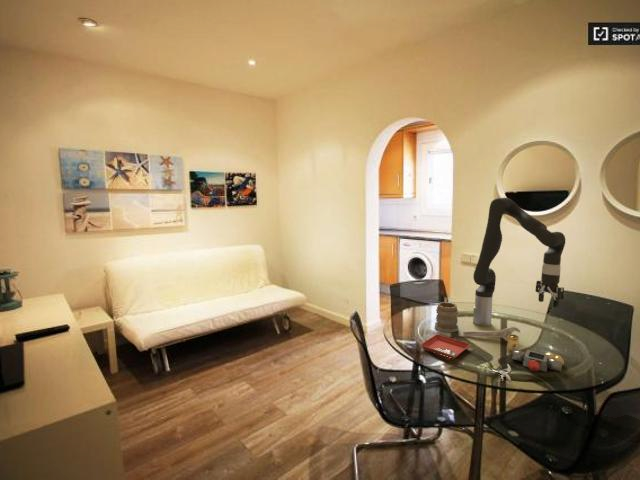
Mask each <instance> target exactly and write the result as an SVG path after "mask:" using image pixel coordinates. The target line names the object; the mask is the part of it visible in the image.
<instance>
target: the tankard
mask: <svg viewBox="0 0 640 480" xmlns="http://www.w3.org/2000/svg"><path fill="white" fill-rule="evenodd" d="M443 301H444V302H443ZM443 301H441V302H439V303H437V306H436V310H435V311H436V317H435V319H436V322H434V329H436V330H437V331H440V332H442V333H452V334H453V333H455V332H459V325H458V321H459V320H458V315H459V311H458V306H457V304H455V303H453V302H448V296H444V300H443Z"/></svg>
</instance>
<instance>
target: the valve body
mask: <svg viewBox="0 0 640 480" xmlns="http://www.w3.org/2000/svg"><path fill="white" fill-rule="evenodd" d="M511 359H512V360H514V361H518V362H522V367H526V368H528V369H529V370H530V371H533V372H537V371H541V372H544V373H545V372H546V373H547V371H548V369H549V370H553V371H557V372H560V373H561V372H562V367H563V366H562V361H558V360H554V359H550V358H548V355H547V354H544V353H543V352H538V351H534V350H530V349H526V352H524V351H520V350H518V349H517V350H513V351H512V353H511Z"/></svg>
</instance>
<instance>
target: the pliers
mask: <svg viewBox="0 0 640 480" xmlns="http://www.w3.org/2000/svg"><path fill="white" fill-rule="evenodd" d="M485 364H488V365H490V364H489V363H488V362H487V361H486V362H485ZM506 365H507V368H504V369H503V370H505V371H509V372H510V371H511V372H512V368H511V366H510V364H509V363H507V364H506ZM497 371H498V370H497ZM505 371H503V372H502V371H501V370H500V371H498V372H499V373H500V374H502V375H500V374H499V377H500V376H501V378H500V380H501V379H502V380H501V381H502V382H504V378H503V377H504V376H505V377H506V378H505V380H507V381H508V382H512V378H511V377H510V375H509V374H507V373H505ZM511 372H510V373H511Z"/></svg>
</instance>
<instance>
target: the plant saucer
mask: <svg viewBox="0 0 640 480" xmlns="http://www.w3.org/2000/svg"><path fill="white" fill-rule="evenodd" d="M470 345H471V344H470V343H468V342H465V341H461V340H458V339H455V338H451V337H448V336H445V335H441V334H437V333H436V334H435V335H433V336H431V337H430V338H428V339H427V340H424V341H423V342H422V343H421V344H420V346H421V347H422V349H424V351H426V350H427V351H426V352H429V351H431V352H430V353H432V352H435V353H438V354H442V355H445V356H448V357H451V358H455V359H456V358H457V357H458V356H459V355H461V354H462V353H463V352H464V351H465V350H467V349H468V348H469V347H470ZM434 348H435V349H436V348H440V349H442V350H446V349H447V350H451V351H453V352H454V353H456V354H457V355H456V356H453V355H450V354H447V353H444V352H441V351H438V350H435V349H434ZM435 353H434V354H435ZM438 354H437V355H438Z"/></svg>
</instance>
